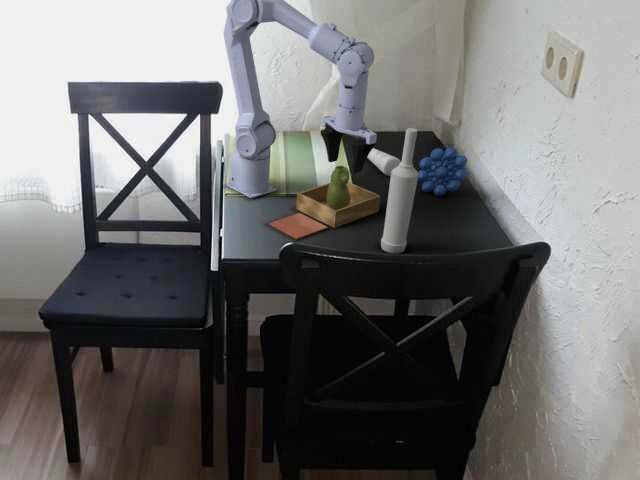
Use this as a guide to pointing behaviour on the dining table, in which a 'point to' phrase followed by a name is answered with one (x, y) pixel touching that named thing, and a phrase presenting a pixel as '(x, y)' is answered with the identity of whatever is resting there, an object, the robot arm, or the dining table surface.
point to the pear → (338, 188)
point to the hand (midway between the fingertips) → (344, 166)
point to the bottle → (400, 198)
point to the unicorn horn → (383, 161)
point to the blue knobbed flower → (442, 171)
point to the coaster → (298, 226)
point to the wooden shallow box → (318, 208)
